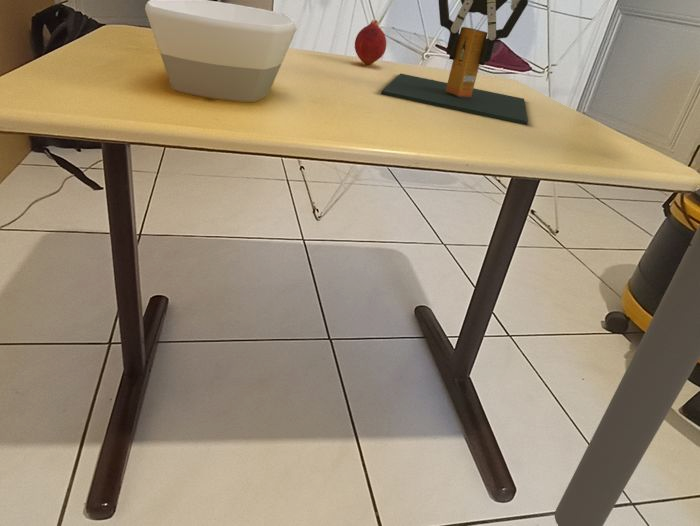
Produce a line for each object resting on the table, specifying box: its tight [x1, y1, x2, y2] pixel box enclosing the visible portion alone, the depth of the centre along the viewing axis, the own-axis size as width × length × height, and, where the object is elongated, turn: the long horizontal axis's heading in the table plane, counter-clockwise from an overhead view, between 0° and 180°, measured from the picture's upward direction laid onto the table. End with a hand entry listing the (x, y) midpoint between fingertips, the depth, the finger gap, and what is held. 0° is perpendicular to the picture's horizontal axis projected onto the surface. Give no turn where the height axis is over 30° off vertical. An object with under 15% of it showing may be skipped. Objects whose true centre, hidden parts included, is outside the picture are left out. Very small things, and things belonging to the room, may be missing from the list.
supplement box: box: [446, 26, 488, 97], centre depth 88 cm, size 3×3×10 cm
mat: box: [380, 73, 529, 126], centre depth 90 cm, size 22×18×1 cm
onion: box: [354, 19, 387, 67], centre depth 102 cm, size 6×6×8 cm
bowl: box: [144, 0, 297, 103], centre depth 70 cm, size 18×18×9 cm
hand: (466, 61), depth 88 cm, fingers closed on supplement box, 4 cm apart
